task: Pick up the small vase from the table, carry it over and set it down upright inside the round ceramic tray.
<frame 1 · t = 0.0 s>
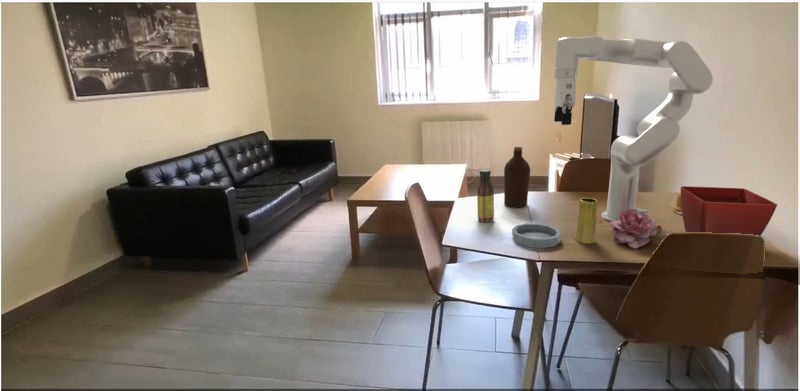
hand: (562, 123, 159), 37 cm above the table, tool pointing down, fingers open, 9 cm apart
plant pot: (716, 245, 140), on the table
olive oil: (515, 205, 187), on the table
flower: (631, 241, 145), on the table
sauce bottle: (485, 220, 169), on the table
vase: (584, 241, 147), on the table
round tray: (535, 239, 149), on the table
ornamental finial: (683, 213, 171), on the table
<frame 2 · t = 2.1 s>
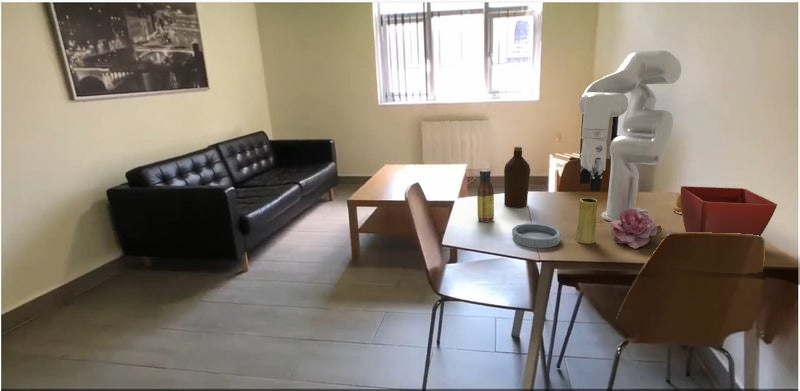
hand: (589, 187, 141), 19 cm above the table, tool pointing down, fingers open, 9 cm apart
nothing on the table moved.
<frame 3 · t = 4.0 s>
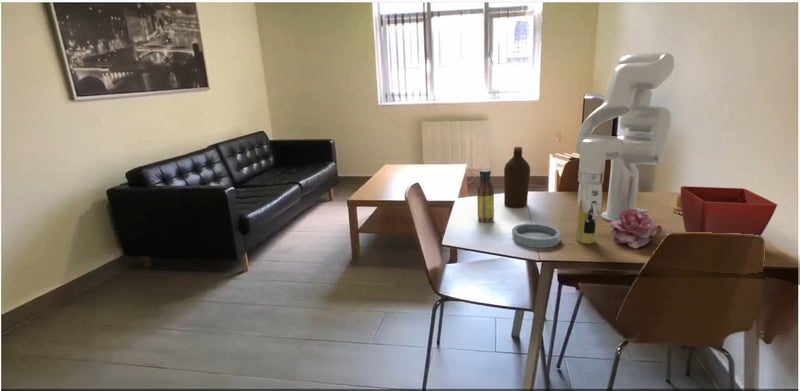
hand: (585, 229, 146), 4 cm above the table, tool pointing down, fingers closed on vase, 5 cm apart
vase: (584, 241, 147), on the table, touching gripper
everything else where it was.
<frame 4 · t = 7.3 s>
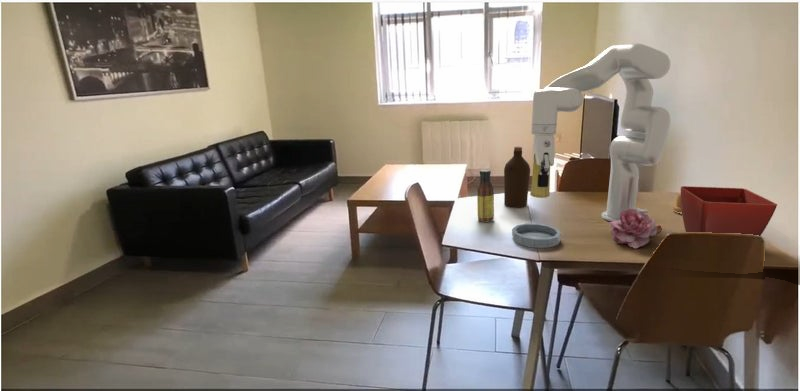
hand: (540, 183, 144), 20 cm above the table, tool pointing down, fingers closed on vase, 5 cm apart
vase: (539, 196, 145), point 15 cm above the table, touching gripper
everything else where it was.
when the fingers open (6 cm above the table, at t = 10.7 s): vase drops 1 cm, resting on round tray.
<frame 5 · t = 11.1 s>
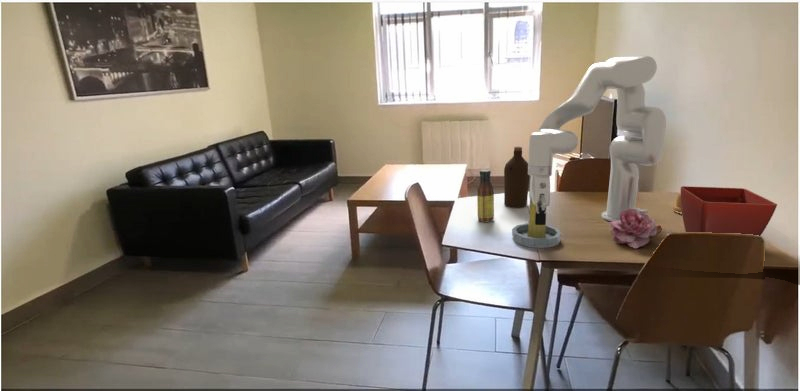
hand: (536, 219, 147), 7 cm above the table, tool pointing down, fingers open, 9 cm apart
vase: (536, 237, 149), point 1 cm above the table, touching round tray
everything else where it was.
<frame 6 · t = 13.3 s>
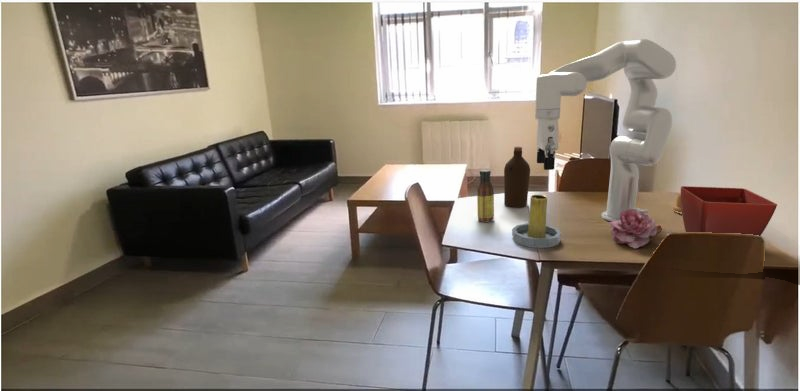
hand: (545, 166, 144), 25 cm above the table, tool pointing down, fingers open, 9 cm apart
nothing on the table moved.
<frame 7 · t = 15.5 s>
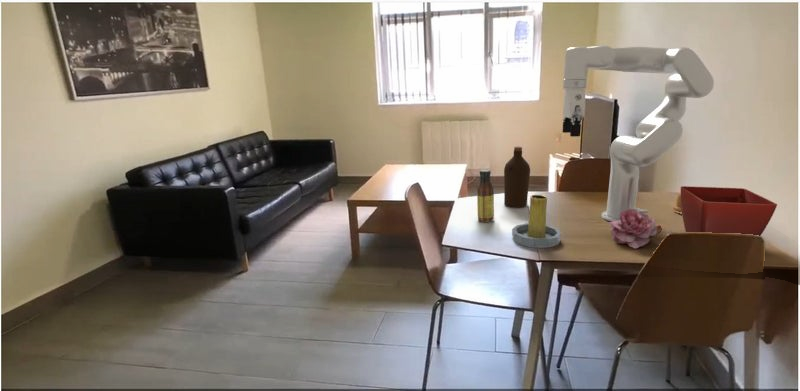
hand: (570, 134, 155), 33 cm above the table, tool pointing down, fingers open, 9 cm apart
nothing on the table moved.
at the end: vase inside the target area on the round tray (0.4 cm from its centre), point 0.6 cm above the round tray's base; vase tilted 0°; the gripper is holding nothing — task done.
